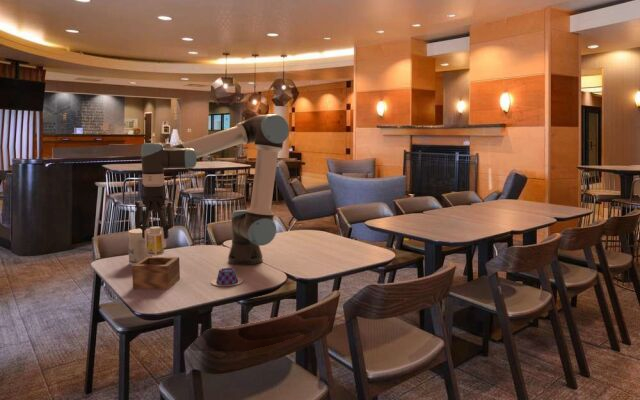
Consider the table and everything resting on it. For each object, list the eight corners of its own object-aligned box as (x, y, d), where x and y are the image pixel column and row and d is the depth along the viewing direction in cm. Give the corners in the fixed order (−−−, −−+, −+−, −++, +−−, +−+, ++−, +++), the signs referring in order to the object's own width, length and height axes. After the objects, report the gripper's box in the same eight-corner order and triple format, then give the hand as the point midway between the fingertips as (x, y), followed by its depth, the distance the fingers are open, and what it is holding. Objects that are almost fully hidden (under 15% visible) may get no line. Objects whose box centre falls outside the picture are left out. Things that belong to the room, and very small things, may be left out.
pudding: (205, 282, 182) (205, 268, 182) (233, 276, 190) (232, 263, 189) (220, 290, 173) (220, 276, 172) (248, 283, 181) (248, 270, 180)
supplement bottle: (164, 252, 181) (164, 225, 180) (162, 255, 176) (161, 228, 174) (149, 252, 180) (148, 226, 179) (146, 256, 175) (145, 229, 173)
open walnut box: (179, 278, 186) (179, 257, 184) (168, 289, 173) (167, 266, 172) (147, 277, 186) (146, 256, 185) (132, 288, 173) (131, 265, 172)
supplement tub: (125, 263, 205) (123, 230, 203) (145, 259, 212) (143, 227, 210) (136, 268, 199) (135, 233, 197) (157, 263, 206) (155, 230, 204)
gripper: (124, 186, 171) (126, 248, 174) (175, 186, 170) (177, 249, 173) (132, 183, 178) (135, 244, 182) (181, 184, 178) (183, 245, 181)
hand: (155, 246), depth 177 cm, fingers closed on supplement bottle, 6 cm apart
